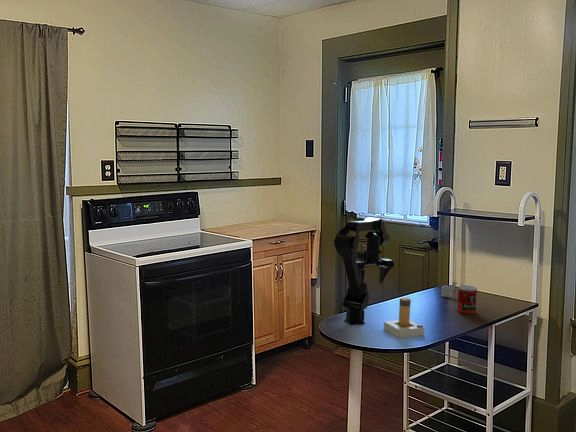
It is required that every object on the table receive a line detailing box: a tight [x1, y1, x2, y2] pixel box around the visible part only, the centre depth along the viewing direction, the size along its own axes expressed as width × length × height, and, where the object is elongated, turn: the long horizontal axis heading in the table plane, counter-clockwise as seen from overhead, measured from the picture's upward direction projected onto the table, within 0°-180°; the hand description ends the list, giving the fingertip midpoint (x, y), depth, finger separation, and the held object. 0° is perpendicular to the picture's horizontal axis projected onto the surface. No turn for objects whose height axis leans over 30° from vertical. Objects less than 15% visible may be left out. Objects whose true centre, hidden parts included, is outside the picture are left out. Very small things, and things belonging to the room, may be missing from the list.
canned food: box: [456, 284, 478, 315], centre depth 250 cm, size 8×8×11 cm
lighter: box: [440, 281, 458, 299], centre depth 274 cm, size 7×2×8 cm, turn 51°
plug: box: [398, 297, 412, 328], centre depth 220 cm, size 4×4×13 cm
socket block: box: [383, 319, 426, 339], centre depth 221 cm, size 11×11×4 cm
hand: (371, 284), depth 242 cm, fingers open, 9 cm apart
